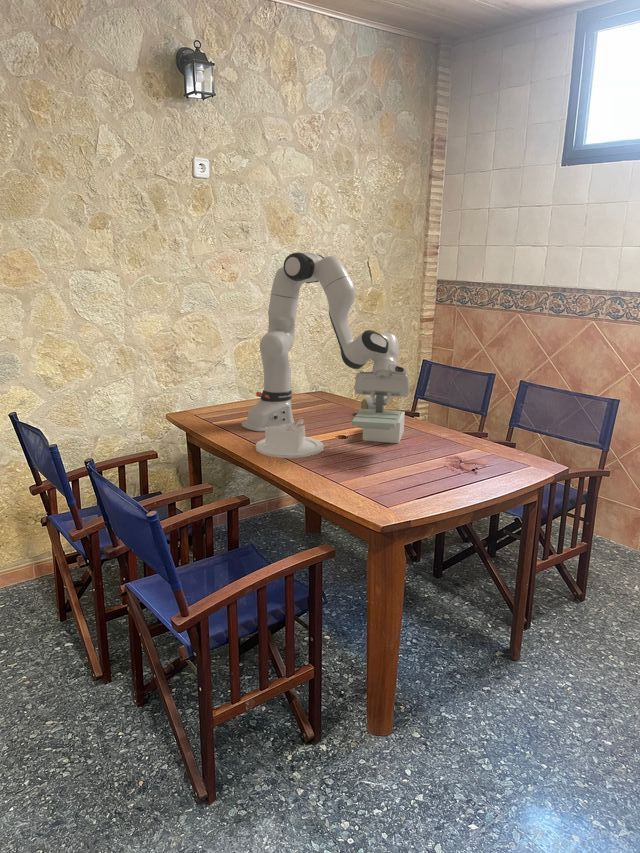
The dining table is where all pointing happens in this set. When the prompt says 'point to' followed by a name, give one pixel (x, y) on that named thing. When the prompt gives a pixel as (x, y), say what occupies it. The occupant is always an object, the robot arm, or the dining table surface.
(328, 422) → the dining table surface
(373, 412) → the lid
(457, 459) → the cloth
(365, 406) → the ceramic mug
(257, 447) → the dish
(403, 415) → the tub
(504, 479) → the dining table surface
